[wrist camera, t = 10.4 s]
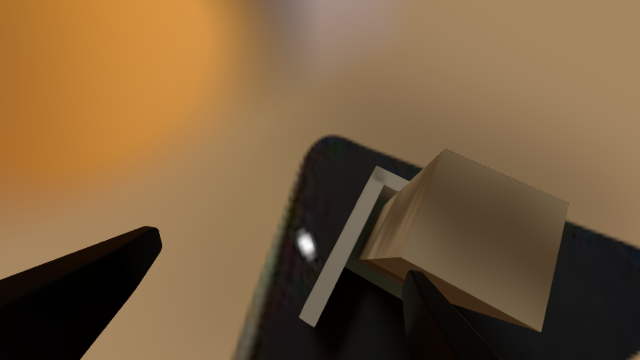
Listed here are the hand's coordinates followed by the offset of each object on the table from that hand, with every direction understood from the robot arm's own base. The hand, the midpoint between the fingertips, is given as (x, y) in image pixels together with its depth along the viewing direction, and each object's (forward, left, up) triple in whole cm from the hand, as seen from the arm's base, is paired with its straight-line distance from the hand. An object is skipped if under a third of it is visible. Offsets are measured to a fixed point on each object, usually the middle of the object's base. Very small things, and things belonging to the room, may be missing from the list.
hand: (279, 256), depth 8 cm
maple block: (+5, -6, -13) cm, 15 cm away
